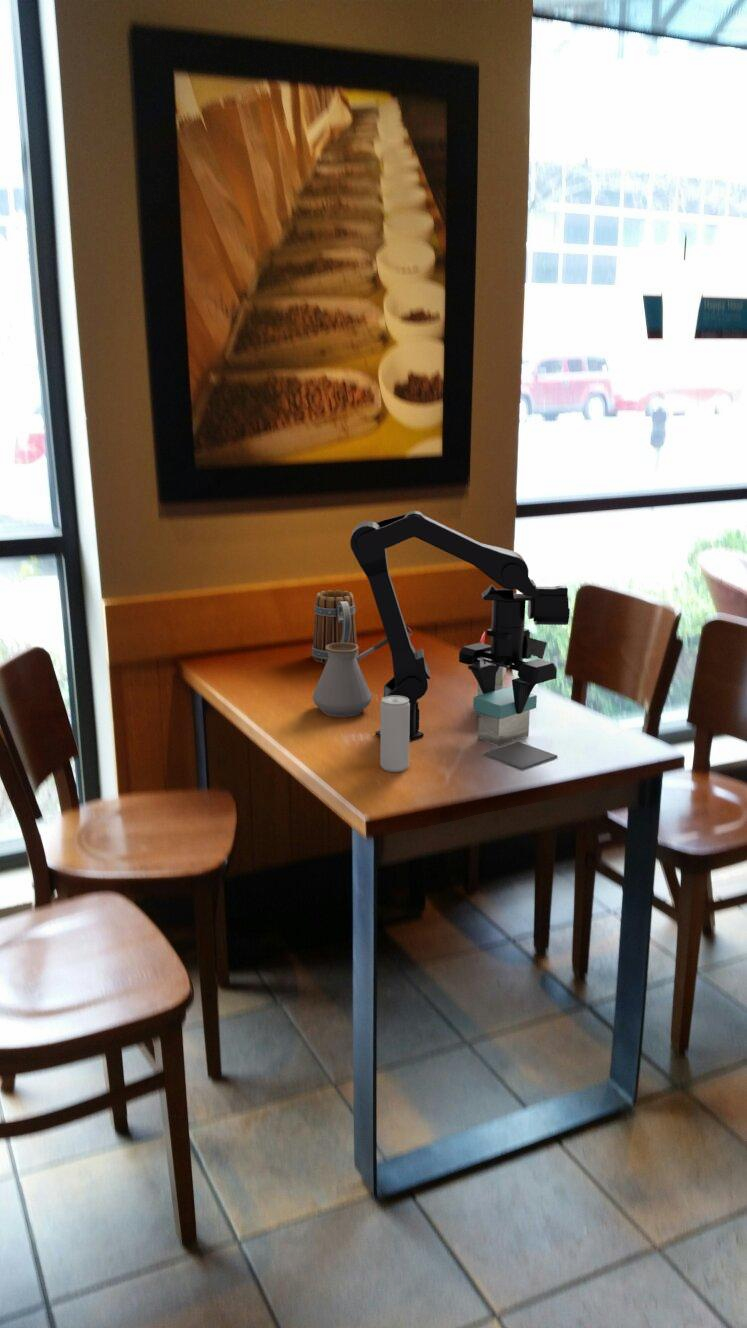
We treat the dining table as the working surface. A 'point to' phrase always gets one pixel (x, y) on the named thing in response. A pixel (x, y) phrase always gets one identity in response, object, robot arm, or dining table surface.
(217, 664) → the dining table surface
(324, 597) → the mug
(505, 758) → the coaster
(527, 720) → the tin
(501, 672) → the ink box
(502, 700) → the lid
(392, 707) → the beverage can
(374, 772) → the dining table surface
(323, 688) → the coffee pot
